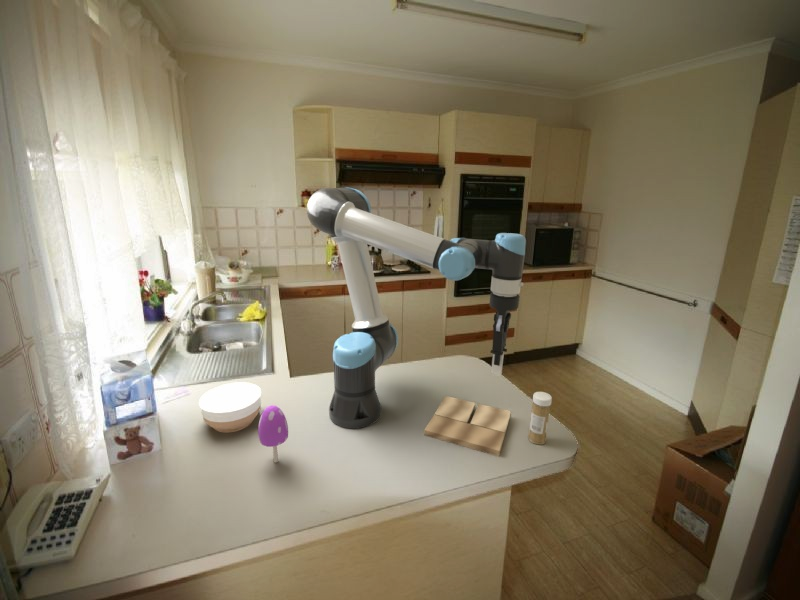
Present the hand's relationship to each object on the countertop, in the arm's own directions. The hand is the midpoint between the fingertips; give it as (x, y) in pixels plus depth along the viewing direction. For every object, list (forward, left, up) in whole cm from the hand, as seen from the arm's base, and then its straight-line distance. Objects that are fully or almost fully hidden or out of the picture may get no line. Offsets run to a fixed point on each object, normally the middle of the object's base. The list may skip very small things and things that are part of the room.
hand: (496, 373), depth 109 cm
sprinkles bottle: (+13, -5, -15) cm, 20 cm away
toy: (-44, -41, -15) cm, 62 cm away
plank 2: (0, -3, -14) cm, 14 cm away
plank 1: (-10, -3, -14) cm, 17 cm away
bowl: (-66, -33, -15) cm, 75 cm away
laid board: (-5, -12, -14) cm, 19 cm away
